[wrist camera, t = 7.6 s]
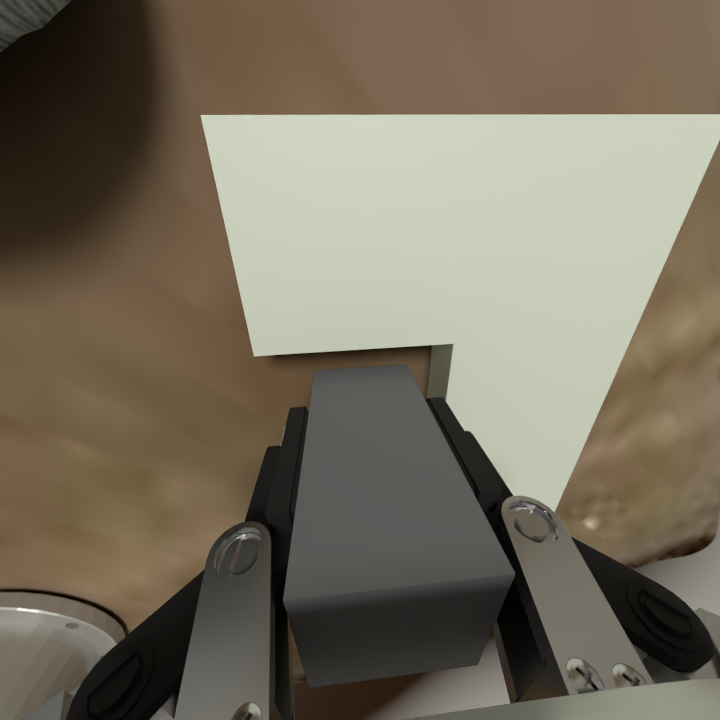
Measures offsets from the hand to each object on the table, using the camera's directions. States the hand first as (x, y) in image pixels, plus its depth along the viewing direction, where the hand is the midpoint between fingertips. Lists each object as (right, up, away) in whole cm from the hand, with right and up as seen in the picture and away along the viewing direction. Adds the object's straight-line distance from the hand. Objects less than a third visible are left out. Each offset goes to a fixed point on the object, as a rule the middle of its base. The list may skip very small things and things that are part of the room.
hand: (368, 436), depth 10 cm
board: (+3, +2, +4) cm, 6 cm away
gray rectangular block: (0, +1, +3) cm, 3 cm away
